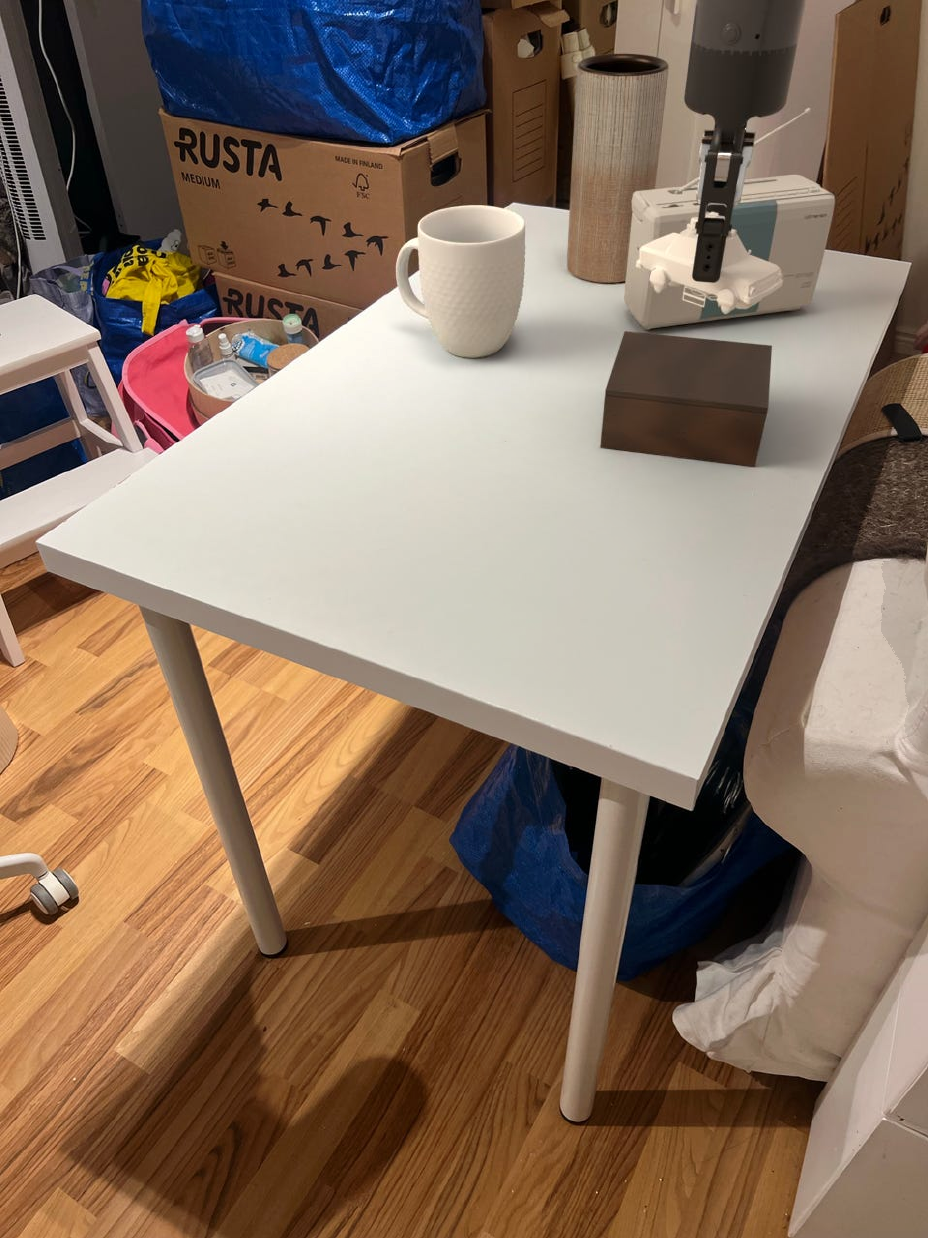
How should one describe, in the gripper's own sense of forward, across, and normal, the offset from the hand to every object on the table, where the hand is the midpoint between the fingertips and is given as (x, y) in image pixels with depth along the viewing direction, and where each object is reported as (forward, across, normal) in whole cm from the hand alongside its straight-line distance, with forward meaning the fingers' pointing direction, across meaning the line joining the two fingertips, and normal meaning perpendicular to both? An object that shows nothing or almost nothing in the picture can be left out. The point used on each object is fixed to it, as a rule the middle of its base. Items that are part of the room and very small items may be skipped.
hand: (708, 262), depth 77 cm
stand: (+16, 0, 0) cm, 16 cm away
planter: (+16, +36, +13) cm, 41 cm away
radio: (+16, +26, -1) cm, 31 cm away
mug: (+16, +12, +25) cm, 32 cm away
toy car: (+3, 0, 0) cm, 3 cm away
